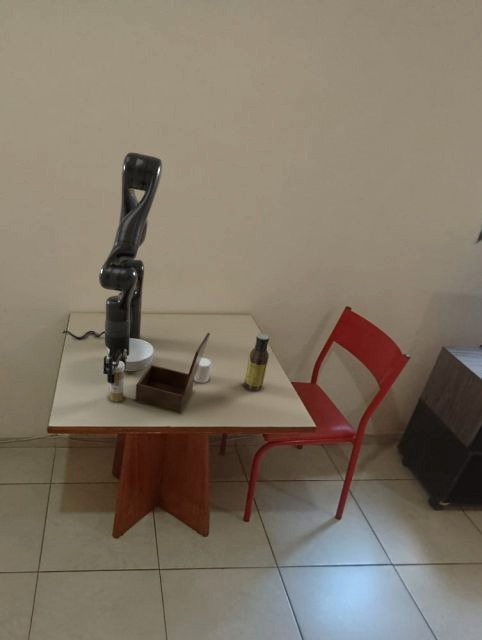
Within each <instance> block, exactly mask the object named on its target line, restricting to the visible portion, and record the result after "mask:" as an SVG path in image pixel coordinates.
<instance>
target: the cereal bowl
mask: <svg viewBox="0 0 482 640" xmlns="http://www.w3.org/2000/svg"><path fill="white" fill-rule="evenodd" d="M125 350H126V349H125ZM154 351H155V349H154V347H153V345H152V344H151V343H150V342H148V341H146V340H144V339H141V338H140V339H134V338H130V343H129V356H127V360H126V369H125V370H124V372H125V371H126V372H136V371H140V370H143V369H145V368H147V367H149V366H150V365H151V363H152V361H153V358H154V355H155V354H154V353H155V352H154ZM126 352H127V350H126ZM108 353H109V348H108V347H107V354H108Z"/></svg>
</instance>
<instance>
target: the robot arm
mask: <svg viewBox="0 0 482 640" xmlns="http://www.w3.org/2000/svg"><path fill="white" fill-rule="evenodd" d="M162 172H163V161H162V160H161V159H160V158H159V157H156V156H152V155H148V154H144V153H139V152H133V151H132V152H128V153H127V154H126V155H125V156H124V159H123V162H122V167H121V198H120V199H121V201H120V212H119V221H118V227H117V229H116V232H115V237H114V241H113V244H112V248H111V250H110V251H109V254H108V256H107V258H106V259H105V261H104V263H103V264H102V266H101V269H100V271H99V273H98V274H99V275H98V282H99V284H100V286H101V288H103V289H104V290H108V291H116V292H119V293H118V294H117V295H116V294H115V295H111V296H109V297H107V298H106V301H105V321H104V331H102V332H101V333H99V334H97V333H96V331H94V330H88V331H87V332H86V333H85V334H84V335H82V336H76V335H74V334H73V333H72V332H71V331H70V330H64V331H62V334H65V333H67V334H69V335H70V336H71V337H72V338H74V339H77V340H82V339H84V338H86V337H87V335H88V334H93V335H94V336H95V337H97V338H100V337H101V336H102V335H104V345H105V347H106V348H107V349H108V348H109V353H108V352H107V355H104V357H103V375H107V376H106V377H107V378H106V380H107V381H106V382H107V383H108V384H110V383H111V384H114V382H115V370H116V367H118V364H119V361H122V362H123V363H124V364H125V369H126V360H127V356H129V343H130V338H134V339H140V340H141V329H142V328H141V325H142V307H143V306H142V305H143V304H142V303H143V288H144V278H145V264H144V262H143V260H141V259H136V257H137V255H138V252H139V248H141V246H142V245H143V244H144V242H145V241H146V237H147V231H148V224H149V223H148V216H149V215H150V211H151V209H152V206H153V203H154V201H155V198H156V195H157V192H158V189H159V185H160V182H161V177H162ZM135 190H136V191H142V192H144V193H143V196H141V199H140V200H138V198H137V195H136V191H135ZM125 349H126V350H127V352H126V350H125ZM113 362H116V364H113ZM112 369H113V370H112ZM125 369H124V371H125Z"/></svg>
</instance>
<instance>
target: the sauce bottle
mask: <svg viewBox="0 0 482 640" xmlns="http://www.w3.org/2000/svg"><path fill="white" fill-rule="evenodd" d="M269 342H270V336H269V335H268V334H266V333H258V334H256V337H255V345H254V348H252V350H251V351H250V353H249V357H248V360H247V361H248V362H247V367H246V371H245V378H244V386H245V388H246V389H247V390H250V391H253V392H256V391H257V392H258V391H260V390H261V389H262V388H263V385H264V381H265V377H266V373H267V368H268V363H269V359H270V355H269V352H268V343H269Z"/></svg>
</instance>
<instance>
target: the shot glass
mask: <svg viewBox="0 0 482 640" xmlns="http://www.w3.org/2000/svg"><path fill="white" fill-rule="evenodd" d="M213 364H214V363H213V360H212V359H210V358H208V357H204V356H202V358H201V361H200V364H199V367H198V369H197V372H196V375H195V377H194V381H195V382H196V383H201V384H202V383H203V384H204V383H207V382H208V381H209V379H210V375H211V371H212V368H213Z"/></svg>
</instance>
